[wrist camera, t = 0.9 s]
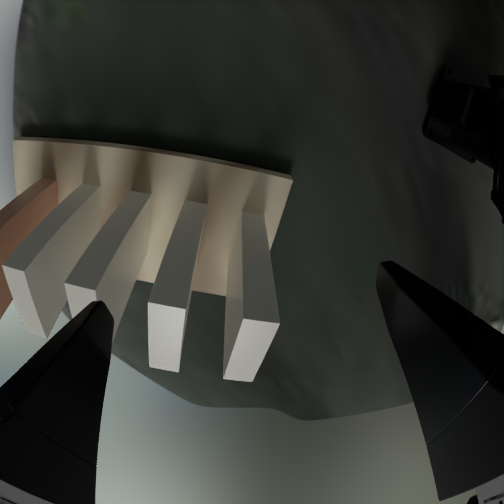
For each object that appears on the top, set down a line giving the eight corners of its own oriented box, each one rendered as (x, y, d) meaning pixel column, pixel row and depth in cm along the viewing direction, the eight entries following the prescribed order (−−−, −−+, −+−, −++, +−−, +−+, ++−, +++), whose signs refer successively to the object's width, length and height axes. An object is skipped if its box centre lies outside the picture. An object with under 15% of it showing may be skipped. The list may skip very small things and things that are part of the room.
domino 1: (56, 179, 18) (-26, 255, 10) (61, 235, 21) (-1, 320, 12) (41, 178, 18) (-42, 250, 9) (46, 232, 20) (-17, 313, 12)
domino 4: (207, 204, 20) (185, 309, 12) (197, 261, 23) (178, 372, 14) (185, 199, 20) (148, 302, 11) (177, 258, 22) (149, 366, 14)
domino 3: (151, 194, 19) (95, 290, 11) (147, 252, 22) (107, 357, 14) (130, 190, 19) (64, 282, 11) (128, 248, 22) (81, 349, 13)
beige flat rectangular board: (290, 175, 20) (293, 180, 19) (252, 292, 26) (253, 300, 25) (20, 136, 16) (12, 140, 16) (31, 248, 22) (26, 253, 22)
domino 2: (100, 186, 19) (24, 271, 10) (101, 243, 21) (46, 338, 13) (82, 183, 18) (1, 264, 10) (84, 240, 21) (26, 331, 13)
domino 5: (264, 215, 21) (279, 323, 12) (247, 270, 23) (251, 381, 15) (241, 210, 20) (243, 318, 12) (227, 267, 23) (222, 378, 15)
